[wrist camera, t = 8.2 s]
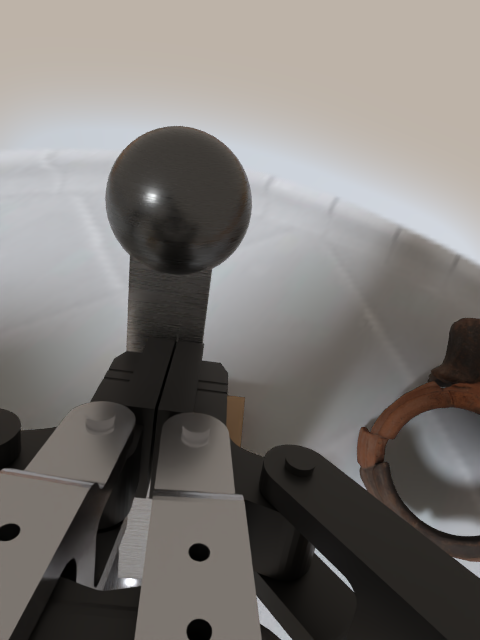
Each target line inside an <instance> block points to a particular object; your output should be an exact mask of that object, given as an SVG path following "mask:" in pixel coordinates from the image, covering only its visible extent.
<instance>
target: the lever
mask: <svg viewBox="0 0 480 640" xmlns="http://www.w3.org/2000/svg"><path fill="white" fill-rule="evenodd" d="M105 200H106V211H107V216H108V220H109V223H110V226H111V229H112V231H113V233H114V235H115V237H116V239H117V240H118V241H119V243H120V244H121V246H122V247H123V249H124V250H125V251H126V252H127V253H128V254H129V255H130V270H129V297H128V323H127V350H126V351H132V352H139V353H142V352H143V349H144V347H145V345H146V343H147V340H148V338H149V336H151V337H159V338H166V339H174V340H176V345H177V342H178V340H182V341H190V342H197V343H203V336H204V329H205V321H206V313H207V306H208V298H209V290H210V282H211V275H212V269H213V268H214V267H216V266H218V265H220V264H221V263H222V262H224V261H225V260H226V259H227V258H229V257H230V256H231V255H232V254H233V253H234V251H235V250H236V249H237V247H238V246H239V245H240V243H241V241H242V240H243V238H244V236H245V234H246V231H247V229H248V226H249V222H250V217H251V209H252V196H251V190H250V185H249V182H248V178H247V175H246V173H245V171H244V169H243V167H242V165H241V164H240V162H239V160H238V159H237V157H236V156H235V155H234V154H233V152H232V151H231V150H230V149H229V148H228V147H227V146H226V145H224V143H222V142H221V141H219V140H218V139H217V138H215V137H214V136H211V135H210V134H208V133H206V132H203V131H200V130H197V129H194V128H190V127H183V126H171V127H164V128H159V129H155V130H152V131H150V132H147V133H146V134H143V135H142V136H140V137H138V138H137V139H136V140H134V141H133V142H131V143H130V144H129V145H128V146H127V147H126V148H125V149H124V150H123V151H122V153H121V154H120V155H119V157H118V158H117V159H116V161H115V163H114V165H113V167H112V169H111V172H110V175H109V178H108V182H107V187H106V197H105ZM150 483H151V480H150ZM149 493H150V484H149V488H148V492H147V496H146V499H144V498H135V497H134V500H133V504H132V507H131V510H130V512H129V514H128V521H127V527H126V530H125V533H124V536H123V538H122V541H121V544H120V546H119V549H118V551H117V554H116V557H115V559H114V562H113V564H112V567H111V570H110V572H109V575H108V578H107V580H106V583H105V585H104V588H103V591H107V590H115V589H123V588H130V587H137V586H141V584H142V577H143V569H144V561H145V553H146V545H147V537H148V530H149V522H150V514H151V506H152V499H149Z"/></svg>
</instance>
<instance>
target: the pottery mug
mask: <svg viewBox="0 0 480 640" xmlns="http://www.w3.org/2000/svg"><path fill="white" fill-rule="evenodd" d="M441 387H446V388H441ZM449 407H454V408H461V409H465V410H468V411H471V412H474V413H477V414H479V415H480V319H476V318H462V319H460V320H459V321H457V322H454V323H453V325H452V326H451V329H450V332H449V341H448V346H447V351H446V356H445V359H444V361H443V364H442V365H440V366H438V367H436V368H434V369H433V370H431V374H430V375H429V379H428V383H426V384H424V385H421V386H419V387H417V388H415V389H414V390H412V391H410V392H408V393H406V394H404V395H403V396H401V397H400V398H399V399H398V400H396V401H395V402H394V403H393V404H392V405H390V406H389V407H388V408H387V409H385V410H384V411H383V413H382V414H381V415H380V416H379V417H378V419H377V420H376V422H375V423H374V425H373V427H372V429H371V432H369V431H368V429H367V428H366V427H361V429H360V432H359V437H358V445H357V461H358V463H359V464H360V466H361V468H360V476H361V479H362V481H363V483H364V485H365V487H366V489H367V491H368V492H369V493H370V494H372V495H373V496H374V497H376V498H377V499H378V500H379V501H381V502H382V503H383V504H385V505H386V506H387V507H388V508H390V509H391V510H392V511H394V512H395V513H396V514H397V515H399V516H400V517H401V518H403V519H404V520H405V521H406V522H408V523H409V524H410V525H412V526H413V527H414V528H415V529H417V530H418V531H419V532H421V533H422V534H423V535H424V536H426V537H427V538H428V539H430V540H431V541H432V542H433V543H435V544H436V545H437V546H439V547H440V548H441V549H442V550H444V551H445V552H446V553H448V554H449V555H450V556H451V557H455V558H459V559H462V560H467V561H474V562H480V536H456V535H451V534H448V533H444V532H442V531H439V530H437V529H434V528H432V527H431V526H429V525H427V524H426V523H424V522H423V521H421V520H420V519H419V518H418V517H416V516H415V515H414V514H413V513H412V512H411V511H410V510H409V508H408V507H407V506H406V505H405V504H404V502H403V501H402V500H401V498H400V497H399V495H398V493H397V491H396V489H395V486H394V484H393V481H392V477H391V472H390V467H389V463H388V462H384V455H385V447H386V444H387V442H388V439H391V440H393V439H394V438H395V437H396V436H397V434H398V433H399V431H400V430H401V428H402V427H403V426H404V425H405V424H406V423H407V422H408V421H409V420H411V419H412V418H414V417H415V416H417V415H419V414H421V413H423V412H426V411H429V410H432V409H437V408H449Z"/></svg>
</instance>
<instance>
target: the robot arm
mask: <svg viewBox="0 0 480 640" xmlns="http://www.w3.org/2000/svg"><path fill="white" fill-rule="evenodd" d="M203 348H204V343H197V342H190V341H182V340H178V342H177V345H176V340H174V339H166V338H159V337H151V336H149V338H148V340H147V343H146V345H145V347H144V349H143V352H142V353H139V352H132V351H126V352H125V353H123V354H121V355H120V356H118V357H116V358H115V359H114V360H113V362H112V364H111V366H110V368H109V371H107V373H106V375H105V377H104V379H103V380H102V382H101V384H100V385H99V387H98V389H97V391H96V393H95V394H94V396H93V398H92V400H91V402H90V403H86V404H82V405H80V406H78V407H76V408H74V409H72V410H71V411H70V412H69V413H68V414H67V415H66V416H65V418H64V419H63V420H62V422H61V423H60V424H59V426H58V427H54V428H47V429H36V430H24V431H21V424H20V420H19V418H18V417H17V416H16V415H15V414H14V413H12V412H10V411H8V410H4V409H0V640H281V639H280V638H278V637H277V636H276V635H275V634H274V633H273V632H271V631H270V630H269V629H267V628H266V627H264V626H263V625H261V624H260V622H259V614H258V606H257V598H256V595H257V597H258V598H259V599H260V600H261V602H262V603H263V604H264V605H265V607H266V608H267V609H268V610H269V611H270V613H271V614H272V615H273V616H274V618H275V619H276V620H277V621H278V622H279V624H280V625H281V626H282V627H283V629H284V630H285V631H286V632H287V634H288V635H289V636H290V637H291V638H292V640H480V578H478V577H477V576H476V575H475V574H473V573H472V572H471V571H469V570H468V569H467V568H466V567H464V566H463V565H462V564H460V563H459V562H458V561H457V560H455V559H454V558H453V557H451V556H450V555H449V554H448V553H446V552H445V551H444V550H442V549H441V548H440V547H439V546H437V545H436V544H435V543H433V542H432V541H431V540H430V539H428V538H427V537H426V536H424V535H423V534H422V533H421V532H419V531H418V530H417V529H415V528H414V527H413V526H412V525H410V524H409V523H408V522H406V521H405V520H404V519H403V518H401V517H400V516H399V515H397V514H396V513H395V512H394V511H392V510H391V509H390V508H388V507H387V506H386V505H385V504H383V503H382V502H381V501H379V500H378V499H377V498H376V497H374V496H373V495H372V494H370V493H369V492H368V491H367V490H365V489H364V488H363V487H361V486H360V485H359V484H358V483H356V482H355V481H354V480H352V479H351V478H350V477H349V476H347V475H346V474H345V473H343V472H342V471H341V470H340V469H338V468H337V467H336V466H334V465H333V464H332V463H330V462H329V461H328V460H327V459H325V458H324V457H323V456H321V455H320V454H318V453H317V452H315V451H313V450H311V449H308V448H305V447H302V446H297V445H281V446H277V447H274V448H272V449H271V450H269V451H268V452H267V453H266V455H265V457H262V456H259V455H256V454H253V453H250V452H248V451H246V450H244V449H242V448H241V447H239V446H238V445H236V444H235V443H234V442H233V441H232V440H231V438H230V437H229V431H228V429H227V427H226V421H227V390H228V386H227V385H228V372H227V371H226V370H225V368H224V367H223V366H222V364H221V363H216V362H208V361H202V356H203ZM150 480H151V483H150ZM149 484H150V493H149V499H152V506H151V514H150V522H149V530H148V537H147V545H146V553H145V561H144V569H143V577H142V584H141V586H137V587H130V588H123V589H115V590H107V591H103V588H104V585H105V583H106V580H107V578H108V575H109V572H110V570H111V567H112V564H113V562H114V559H115V557H116V554H117V551H118V549H119V546H120V544H121V541H122V538H123V536H124V533H125V530H126V527H127V521H128V514H129V512H130V510H131V507H132V504H133V500H134V497H135V498H144V499H146V496H147V492H148V488H149ZM315 548H316V549H317V550H318V551H319V552H320V553H321V554H323V555H324V556H325V557H326V558H327V559H328V560H329V561H330V562H331V563H332V564H333V565H334V566H335V567H336V568H337V569H338V570H339V571H340V572H341V573H342V574H343V575H344V576H345V577H346V578H347V580H348V581H349V583H350V584H351V586H352V588H353V590H354V592H353V591H352V590H351V589H350V588H349V587H348V586H347V585H346V584H345V583H344V582H343V581H342V580H341V579H340V578H339V577H338V576H337V575H336V574H335V573H334V572H333V571H332V570H331V569H330V568H329V567H328V566H327V565H326V564H325V563H324V562H323V561H322V560H321V559H320V558H319V557H318V556H317V555H316V554H315V553H314V550H315Z"/></svg>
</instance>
